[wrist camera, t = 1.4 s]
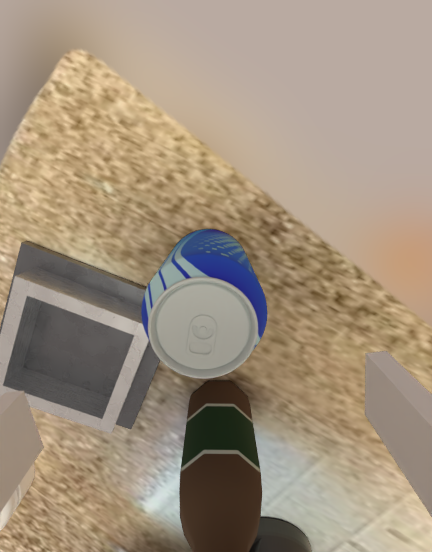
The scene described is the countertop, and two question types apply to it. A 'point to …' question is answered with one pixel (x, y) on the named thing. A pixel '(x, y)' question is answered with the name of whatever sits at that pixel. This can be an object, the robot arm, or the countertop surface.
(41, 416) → the countertop surface
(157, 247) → the countertop surface
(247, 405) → the beer bottle
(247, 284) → the beer can
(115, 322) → the silver square tray
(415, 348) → the countertop surface
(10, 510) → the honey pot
